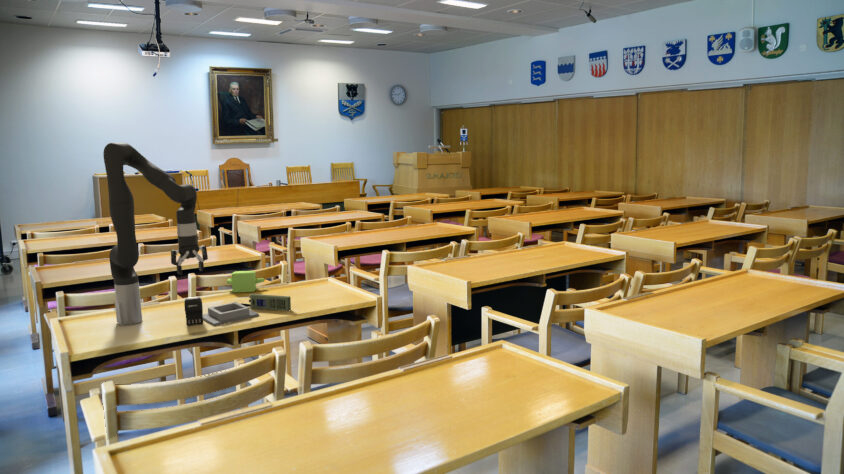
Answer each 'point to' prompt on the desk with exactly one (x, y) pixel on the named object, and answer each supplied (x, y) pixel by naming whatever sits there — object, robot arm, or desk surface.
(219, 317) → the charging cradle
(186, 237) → the robot arm
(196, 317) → the battery
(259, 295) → the handheld radio
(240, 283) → the gearbox
